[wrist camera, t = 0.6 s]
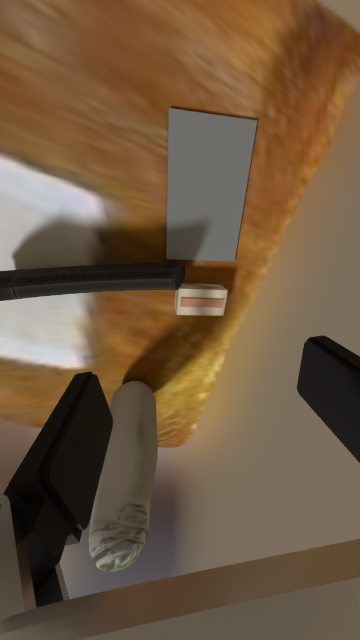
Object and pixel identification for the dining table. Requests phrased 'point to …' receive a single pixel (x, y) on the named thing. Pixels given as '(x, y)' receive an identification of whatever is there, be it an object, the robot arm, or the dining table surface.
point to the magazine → (90, 279)
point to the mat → (206, 184)
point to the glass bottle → (125, 480)
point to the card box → (200, 299)
